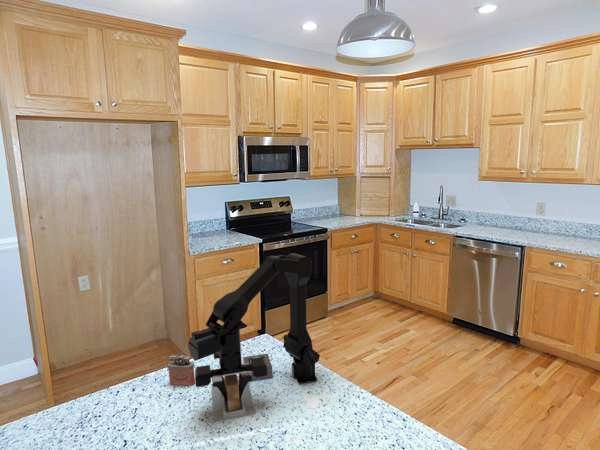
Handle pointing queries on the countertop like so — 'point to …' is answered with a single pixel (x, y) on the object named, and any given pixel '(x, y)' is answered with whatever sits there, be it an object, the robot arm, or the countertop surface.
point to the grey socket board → (222, 406)
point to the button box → (268, 363)
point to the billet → (232, 392)
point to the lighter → (181, 371)
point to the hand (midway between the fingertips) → (233, 400)
